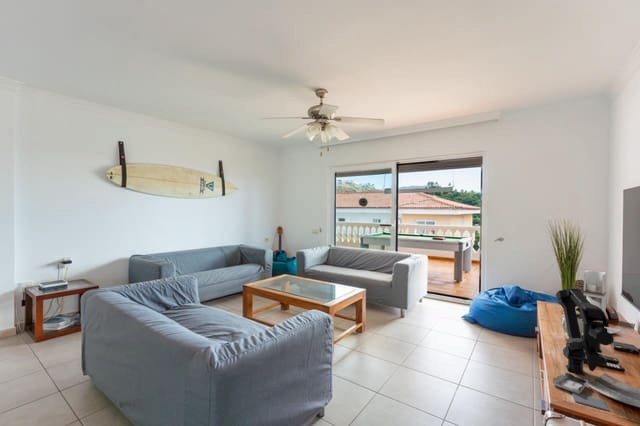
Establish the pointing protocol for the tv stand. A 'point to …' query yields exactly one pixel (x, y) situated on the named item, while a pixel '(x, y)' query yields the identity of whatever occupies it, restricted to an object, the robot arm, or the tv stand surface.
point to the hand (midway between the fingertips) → (591, 370)
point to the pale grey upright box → (595, 288)
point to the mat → (590, 401)
